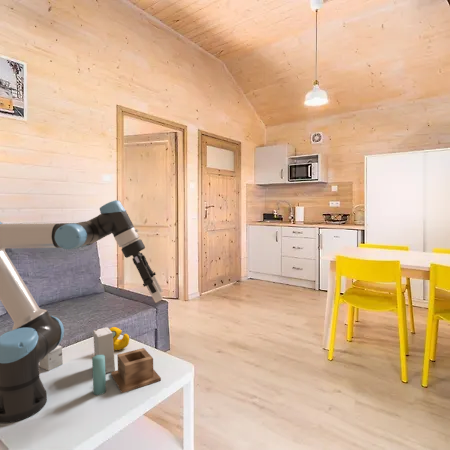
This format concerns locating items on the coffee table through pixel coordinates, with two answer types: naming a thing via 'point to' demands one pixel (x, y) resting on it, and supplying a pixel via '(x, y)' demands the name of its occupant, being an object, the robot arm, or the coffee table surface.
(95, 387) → the peg
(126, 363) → the socket
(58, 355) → the skincare box
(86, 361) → the coffee table surface
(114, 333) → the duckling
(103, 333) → the skincare box
